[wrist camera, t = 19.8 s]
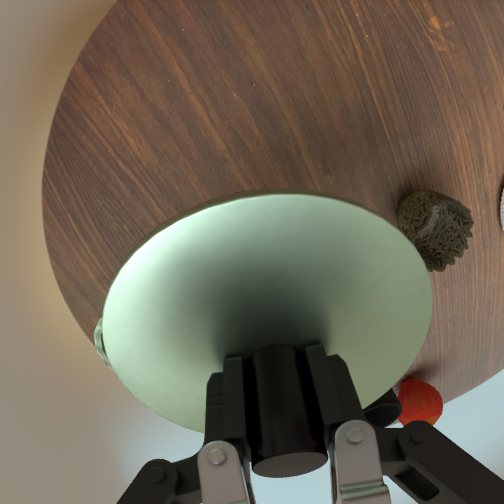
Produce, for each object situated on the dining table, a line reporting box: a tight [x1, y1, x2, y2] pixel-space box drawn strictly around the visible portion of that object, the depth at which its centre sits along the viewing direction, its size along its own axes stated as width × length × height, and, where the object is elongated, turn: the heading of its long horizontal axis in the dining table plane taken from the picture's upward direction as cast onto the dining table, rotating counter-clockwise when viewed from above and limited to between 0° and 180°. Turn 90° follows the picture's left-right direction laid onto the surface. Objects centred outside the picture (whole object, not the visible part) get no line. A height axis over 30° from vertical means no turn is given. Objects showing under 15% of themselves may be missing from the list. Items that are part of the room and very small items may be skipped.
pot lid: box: [102, 188, 433, 478], centre depth 10 cm, size 14×14×6 cm
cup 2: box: [397, 190, 474, 272], centre depth 28 cm, size 8×7×8 cm
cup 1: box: [363, 388, 403, 428], centre depth 37 cm, size 8×8×12 cm
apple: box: [398, 378, 443, 426], centre depth 43 cm, size 9×8×11 cm
